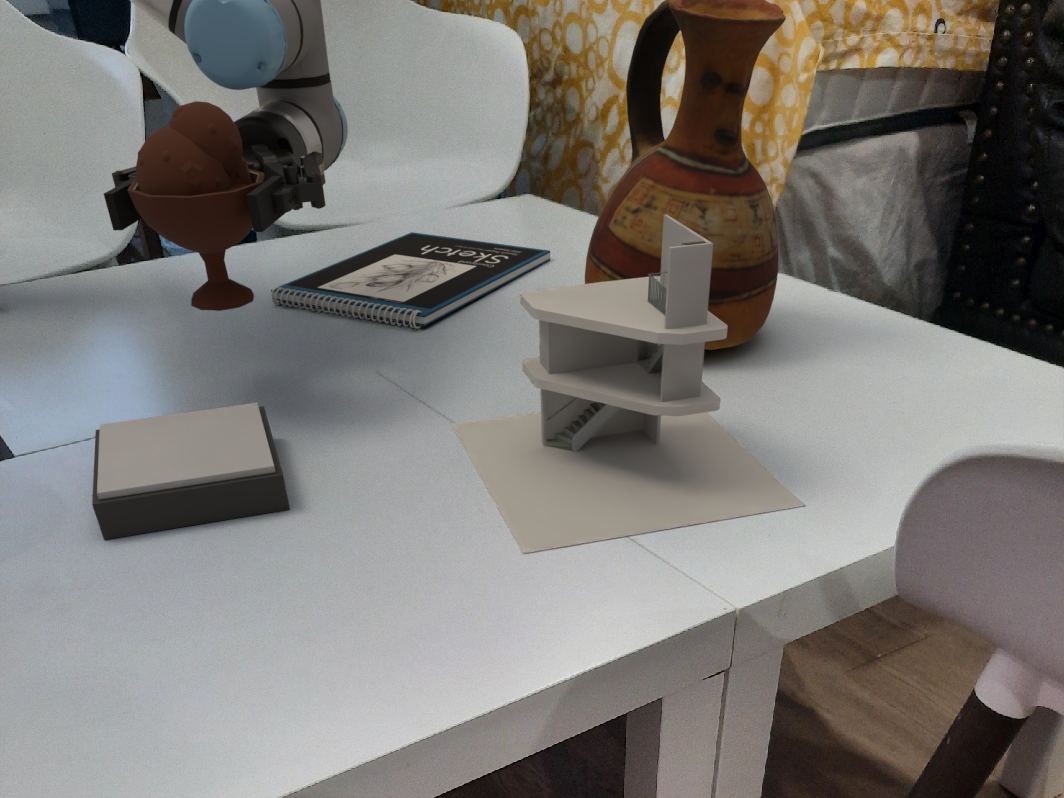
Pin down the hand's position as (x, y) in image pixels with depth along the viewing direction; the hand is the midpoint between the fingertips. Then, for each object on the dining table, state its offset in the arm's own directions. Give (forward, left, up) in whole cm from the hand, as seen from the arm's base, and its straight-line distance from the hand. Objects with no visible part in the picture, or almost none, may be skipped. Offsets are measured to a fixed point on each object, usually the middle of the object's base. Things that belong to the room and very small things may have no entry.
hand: (183, 213), depth 80 cm
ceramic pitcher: (-7, +47, -18) cm, 51 cm away
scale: (+11, -4, -18) cm, 21 cm away
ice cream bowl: (-4, +2, -8) cm, 9 cm away
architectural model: (+19, +30, -18) cm, 40 cm away
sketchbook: (-36, +25, -18) cm, 48 cm away
